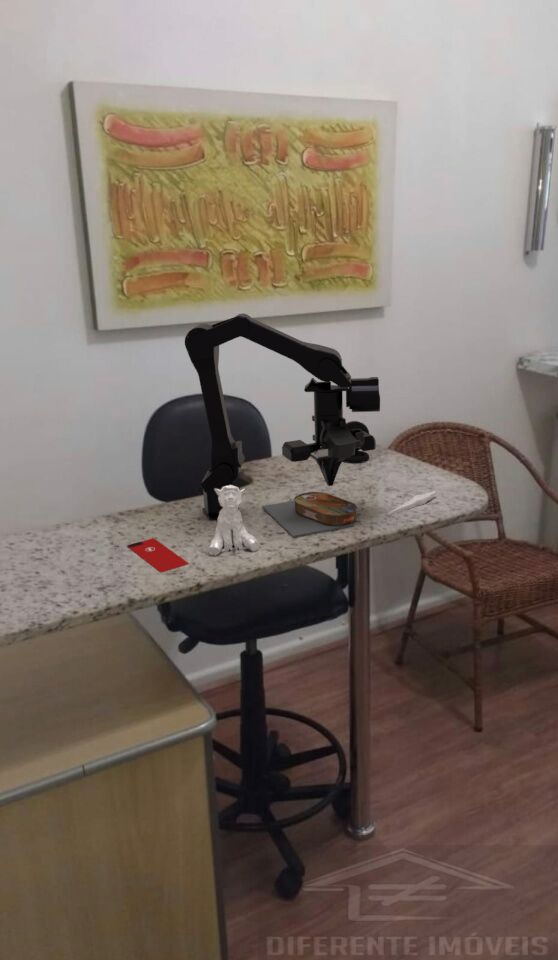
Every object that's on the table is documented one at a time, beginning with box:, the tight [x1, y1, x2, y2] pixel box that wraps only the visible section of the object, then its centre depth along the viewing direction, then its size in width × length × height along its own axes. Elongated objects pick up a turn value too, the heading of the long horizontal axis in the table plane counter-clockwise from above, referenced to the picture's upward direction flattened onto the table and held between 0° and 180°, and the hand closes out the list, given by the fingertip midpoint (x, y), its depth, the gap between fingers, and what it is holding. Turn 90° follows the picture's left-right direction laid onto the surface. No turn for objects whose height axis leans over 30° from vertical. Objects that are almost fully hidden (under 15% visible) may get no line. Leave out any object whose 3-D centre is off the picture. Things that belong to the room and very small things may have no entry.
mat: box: [261, 500, 354, 538], centre depth 155 cm, size 13×18×1 cm
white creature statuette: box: [208, 485, 260, 557], centre depth 141 cm, size 10×9×12 cm
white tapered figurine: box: [387, 490, 437, 516], centre depth 159 cm, size 15×3×2 cm, turn 129°
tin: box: [293, 491, 358, 526], centre depth 155 cm, size 15×3×8 cm
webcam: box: [342, 420, 370, 464], centre depth 190 cm, size 8×8×10 cm
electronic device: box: [126, 537, 189, 573], centre depth 140 cm, size 6×1×15 cm
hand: (329, 485), depth 155 cm, fingers closed
